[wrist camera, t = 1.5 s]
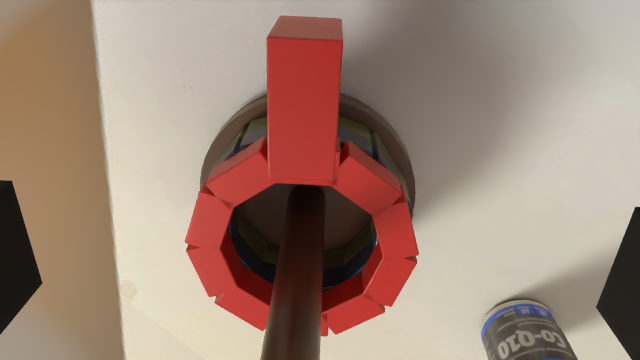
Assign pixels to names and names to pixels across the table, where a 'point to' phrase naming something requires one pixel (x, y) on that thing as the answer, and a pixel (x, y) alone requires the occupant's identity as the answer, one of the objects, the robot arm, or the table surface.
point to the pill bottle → (524, 333)
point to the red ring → (303, 168)
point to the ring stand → (305, 226)
